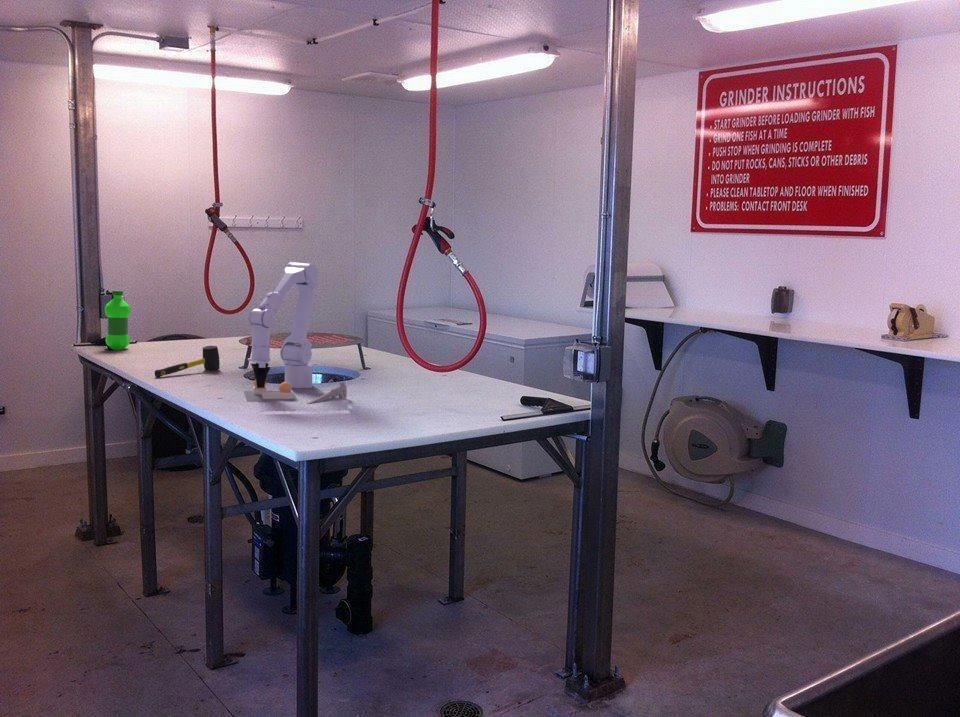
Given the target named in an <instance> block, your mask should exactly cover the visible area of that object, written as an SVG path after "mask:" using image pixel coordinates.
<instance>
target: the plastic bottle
mask: <svg viewBox="0 0 960 717" xmlns="http://www.w3.org/2000/svg"><path fill="white" fill-rule="evenodd" d="M111 293H112V294H111V295H112V296H113V298H112V299H111V300H110V301H108V302H107V303H106V304H105V306H104V314H105V316H107V334H106V336H105V344H106V345H107V346H108V347H109V348H110V349H111V350H118V351H119V350H125V349H126V348H127V347H128V346H129V344H130V342H131V338H130V335H129V332H128V329H129V328H128V327H129V326H128V324H129V323H128V322H129V321H128V320H129V317H130V316H131V314H132V307H131V306H130V304H128V303H127V302H126V301H125V300H124V299H123V296H124V290H112V292H111Z"/></svg>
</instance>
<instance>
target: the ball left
mask: <svg viewBox="0 0 960 717" xmlns="http://www.w3.org/2000/svg"><path fill="white" fill-rule="evenodd" d="M278 386H279V387H278V390H280V392H281V393H285V392H291V390H292V391H293V388H292V386H291V384H290V383H288V382H285V381H283V382H281V383H280V384H279V385H278Z"/></svg>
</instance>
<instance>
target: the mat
mask: <svg viewBox="0 0 960 717" xmlns="http://www.w3.org/2000/svg"><path fill="white" fill-rule="evenodd" d="M243 393H244V396H245V399H246V402H248V403H249V402H250V403H251V402H252V403H253V402H254V403H255V402H259V403H260V402H299V399H298V398H297V396H296V394H294V398H293V399H263V398H262V394H253V390H243Z"/></svg>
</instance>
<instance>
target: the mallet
mask: <svg viewBox="0 0 960 717" xmlns="http://www.w3.org/2000/svg"><path fill="white" fill-rule="evenodd" d="M220 364H221V363H220V352H219V348H218V346H216V345H206V346H204V347H202V358H200V359H197V360H196V359H195V360H193V361H192V360H191V361H188V362H183V363H179V364H178V363H177V364H174V365H170V366H167V367H165V368H162V369H155V370H154V376H155V378H156V379H158V378H161V377H163V376H167V375H171V374H174V373H175V374H176V373H179V372H181V371H184V370H187V369H190V368H193V367H196V366H199V365H203V366H204V367H203V368H204V371H205V370H217V371H218V369H219V370H220V367H221V366H220Z"/></svg>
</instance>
